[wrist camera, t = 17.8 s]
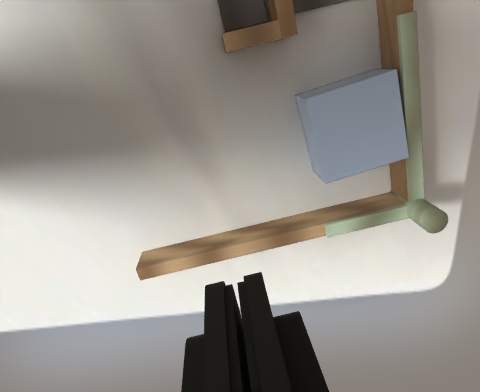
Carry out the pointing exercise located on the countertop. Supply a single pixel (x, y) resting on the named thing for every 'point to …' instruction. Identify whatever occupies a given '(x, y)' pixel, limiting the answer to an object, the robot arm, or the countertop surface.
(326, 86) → the block
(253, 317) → the robot arm
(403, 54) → the box
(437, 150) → the countertop surface
